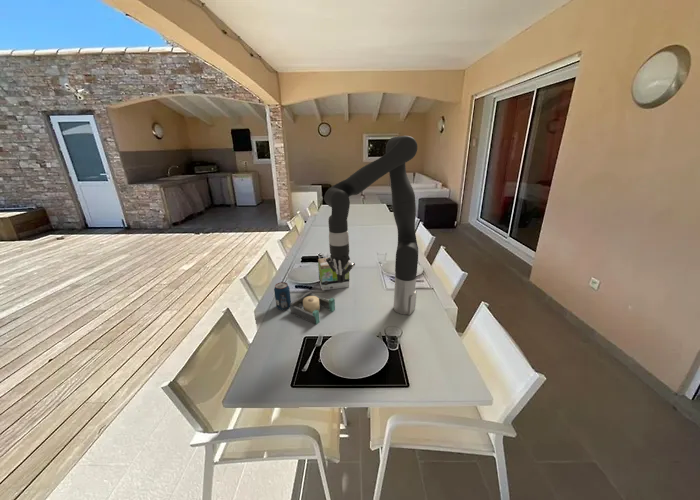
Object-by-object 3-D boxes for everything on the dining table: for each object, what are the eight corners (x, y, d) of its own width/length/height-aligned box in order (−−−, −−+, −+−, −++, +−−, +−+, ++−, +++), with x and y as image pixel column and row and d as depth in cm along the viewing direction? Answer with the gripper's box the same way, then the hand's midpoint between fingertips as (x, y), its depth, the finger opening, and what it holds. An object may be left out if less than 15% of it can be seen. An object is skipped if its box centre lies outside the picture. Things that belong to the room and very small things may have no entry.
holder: (335, 309, 134) (334, 298, 131) (316, 324, 124) (315, 313, 121) (310, 299, 142) (309, 289, 140) (290, 313, 132) (289, 302, 130)
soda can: (285, 301, 141) (282, 280, 136) (294, 306, 137) (292, 284, 132) (273, 307, 136) (270, 285, 131) (282, 313, 132) (280, 290, 127)
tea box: (322, 291, 149) (320, 266, 143) (319, 282, 158) (317, 258, 152) (350, 287, 153) (349, 262, 147) (345, 278, 162) (344, 254, 156)
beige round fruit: (322, 309, 135) (322, 298, 132) (313, 317, 129) (312, 306, 126) (310, 304, 138) (309, 294, 136) (300, 312, 132) (299, 301, 130)
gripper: (359, 241, 108) (360, 282, 114) (331, 235, 115) (333, 274, 121) (347, 248, 102) (349, 290, 109) (319, 241, 109) (322, 281, 116)
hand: (341, 281), depth 115 cm, fingers closed
